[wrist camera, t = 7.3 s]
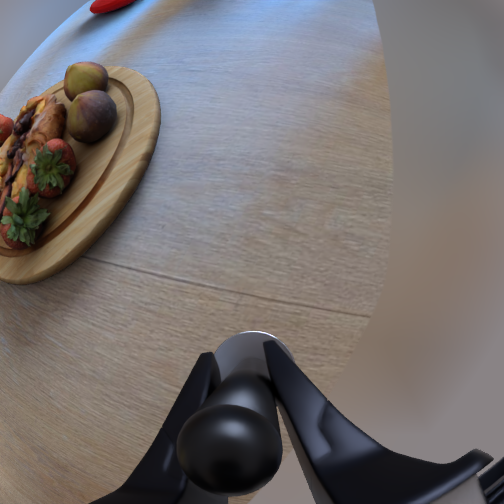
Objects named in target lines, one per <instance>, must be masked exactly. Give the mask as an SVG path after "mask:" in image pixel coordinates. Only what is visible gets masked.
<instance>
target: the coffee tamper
mask: <svg viewBox="0 0 504 504" xmlns="http://www.w3.org/2000/svg"><path fill="white" fill-rule="evenodd" d="M268 340H275V341H276V343H277V344H278V345H279V346H280V347H281V348H282V349H283V351H284V352H285V353H286V354H287V355H288V356H289V357H290V358H291V360H292V361H293V362H294V363H295V360H294V357H293V355H292V353H291V352H290V350H289V349H288V347H287V346H286V345H285V344H284V343H283V342H282V341H281V340H279V339H278V338H276V337H274V336H272V335H270V334H268V333H264V332H259V331H247V332H242V333H238V334H236V335H233V336H232V337H230V338H228V339H227V340H225V341H224V342H223V343H222V344H221V345H220V346H219V347H218V349H217V350H216V352H215V354H214V356H215V359H216V361H217V363H218V366H219V369H220V376H221V384H220V385H219V386H218V387H217V388H216V389H215V390H214V391H213V392H212V394H211V395H210V396H209V397H208V398H207V399H206V400H205V401H204V402H203V403H202V405H201V406H200V407H199V408H198V409H197V410H196V411H195V412H194V413H193V414H192V415H191V416H190V417H189V418H188V420H187V421H186V422H185V423H184V425H183V427H182V429H181V431H180V433H179V435H178V439H177V458H178V462H179V464H180V466H181V468H182V470H183V472H184V473H185V474H186V476H187V477H188V478H189V480H191V481H192V482H193V483H194V484H195V485H196V486H198V487H199V488H201V489H203V490H205V491H207V492H209V493H212V494H216V495H219V496H228V497H232V496H242V495H246V494H249V493H252V492H254V491H257V490H258V489H260V488H262V487H263V486H265V485H266V484H267V483H268V482H269V481H270V480H271V479H272V478H273V477H274V475H275V474H276V472H277V471H278V469H279V466H280V464H281V459H282V453H283V448H282V440H281V434H280V428H279V421H278V415H277V409H276V407H277V403H276V400H275V396H274V390H273V387H272V385H271V381H270V377H269V372H268V368H267V364H266V359H265V354H264V349H263V344H262V343H263V342H264V341H268Z"/></svg>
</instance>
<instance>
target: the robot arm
mask: <svg viewBox="0 0 504 504" xmlns="http://www.w3.org/2000/svg"><path fill="white" fill-rule="evenodd" d="M262 344H263V349H264V354H265V359H266V364H267V368H268V372H269V377H270V381H271V385H272V387H273V390H274V396H275V400H276V403H277V406H278V408H279V411H280V414H281V416H282V419H283V422H284V424H285V427H286V429H287V432H288V435H289V437H290V440H291V442H292V445H293V448H294V450H295V452H296V455H297V458H298V460H299V463H300V465H301V468H302V470H303V473H304V475H305V478H306V480H307V483H308V485H309V488H310V490H311V492H312V495H313V498H314V500H315V502H316V504H504V457H503V458H502V459H501V460H499V461H498V462H497V463H496V464H495V465H493V466H492V467H491V468H490V469H488V470H487V471H485V472H484V473H483V474H481V475H480V476H479V477H477V474H476V473H477V472H479V471H480V470H481V469H483V468H484V467H485V466H487V465H488V464H489V463H490V462H491V461H493V459H494V458H493V457H492V456H490V455H489V454H487V453H485V452H483V451H481V450H478V449H473V450H472V451H470V452H468V453H467V454H466V455H464V456H462V457H461V458H459V459H458V460H456V461H454V462H451V463H447V464H437V463H432V462H428V461H424V460H420V459H416V458H412V457H409V456H406V455H402V454H398V453H396V452H393V451H391V450H389V449H387V448H385V447H383V446H382V445H381V444H379V443H378V442H376V441H375V440H374V439H372V438H371V437H370V436H368V435H367V434H366V433H365V432H363V431H362V430H360V429H359V428H358V427H357V426H355V425H354V424H353V423H352V422H350V421H349V420H348V419H347V418H346V417H344V415H343V414H341V413H340V412H339V411H338V410H337V409H336V408H335V407H334V406H333V404H332V403H331V402H330V401H329V400H328V401H327V398H326V397H325V396H324V395H323V394H322V393H321V392H320V391H319V389H318V388H317V387H316V386H315V385H314V384H313V383H312V382H311V381H310V380H309V379H308V377H307V376H306V375H305V374H304V373H303V372H302V371H301V370H300V369H299V367H298V366H297V365H296V364H295V363H294V362H293V361H292V360H291V358H290V357H289V356H288V355H287V354H286V353H285V352H284V351H283V349H282V348H281V347H280V346H279V345H278V344H277V343H276V341H275V340H268V341H264V342H263V343H262ZM220 384H221V376H220V369H219V366H218V363H217V361H216V359H215V356H214V354H213V353H212V352H206V353H202V354H200V356H199V358H198V360H197V362H196V364H195V365H194V367H193V369H192V371H191V373H190V375H189V377H188V379H187V380H186V382H185V384H184V386H183V388H182V390H181V392H180V394H179V395H178V397H177V399H176V401H175V403H174V405H173V407H172V408H171V410H170V412H169V414H168V416H167V418H166V420H165V422H164V423H163V425H162V427H163V428H161V429H160V431H159V433H158V434H157V436H156V438H155V440H154V441H153V443H152V445H151V447H150V448H149V450H148V451H147V453H146V454H145V456H144V457H143V458H142V460H141V461H140V463H139V464H138V465H137V467H136V468H135V469H134V471H133V472H132V474H131V475H130V476H129V478H128V479H127V480H126V482H125V483H124V484H123V485H122V486H121V487H120V488H118V489H117V490H115V491H114V492H112V493H110V494H108V495H106V496H104V497H102V498H99V499H97V500H95V501H93V502H91V503H89V504H228V496H219V495H216V494H212V493H209V492H207V491H205V490H203V489H201V488H199V487H198V486H196V485H195V484H194V483H193V482H192V481H191V480H189V478H188V477H187V476H186V474H185V473H184V472H183V470H182V468H181V466H180V464H179V462H178V458H177V439H178V435H179V433H180V431H181V429H182V427H183V425H184V423H185V422H186V421H187V420H188V418H189V417H190V416H191V415H192V414H193V413H194V412H195V411H196V410H197V409H198V408H199V407H200V406H201V405H202V403H203V402H204V401H205V400H206V399H207V398H208V397H209V396H210V395H211V394H212V392H213V391H214V390H215V389H216V388H217V387H218V386H219V385H220Z"/></svg>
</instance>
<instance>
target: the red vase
mask: <svg viewBox="0 0 504 504" xmlns="http://www.w3.org/2000/svg"><path fill="white" fill-rule="evenodd" d="M134 1H136V0H96V1H95V2H93V3H92V5H91V7H90V11H91V12H92V13H94V14H96V13H106V12H110V11H113V10H116V9H119V8H121V7H124V6H126V5H128V4H130V3H132V2H134Z"/></svg>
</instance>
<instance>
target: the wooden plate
mask: <svg viewBox="0 0 504 504" xmlns="http://www.w3.org/2000/svg"><path fill="white" fill-rule="evenodd" d="M160 124H161V109H160V102H159V98H158V95H157V92H156V90H155V89H154V87H153V85H152V84H151V82H150V81H149V80H148V79H147V78H146V77H144V76H143V75H142V74H140V73H138V72H137V71H135V70H132V69H129V68H125V67H118V66H104V67H103V66H102V65H100V64H97V63H94V62H79V63H75V64H73V65H71V66H68V68H67V70H66V74H65V78H64V80H62V81H60V82H58V83H57V84H55V85H53V86H52V87H50V88H49V89H48V90H46V91H45V92H43V93H42V94H41V95H40V96H36V97H33V98H31V99H30V100H28V102H27V105H26V106H23V107H22V108H21V110H20V113H19V115H18V116H17V117H16V118H15V120H14V121H13V120H12V119H11V118H8V117H5V116H3V115H1V114H0V280H1V281H3V282H6V283H8V284H15V285H27V284H32V283H36V282H39V281H42V280H44V279H46V278H48V277H51V276H52V275H54V274H56V273H58V272H60V271H61V270H63V269H64V268H66V267H67V266H68V265H70V264H71V263H73V262H74V261H75V260H76V259H78V258H79V257H80V256H81V255H83V254H84V253H85V252H86V251H87V250H88V249H89V248H90V247H91V246H92V245H93V244H94V243H95V242H96V241H97V240H98V239H99V237H100V236H101V235H102V234H103V233H104V232H105V231H106V229H107V228H108V227H109V226H110V225H111V224H112V223H113V221H114V220H115V219H116V217H117V216H118V215H119V214H120V212H121V211H122V209H123V208H124V207H125V205H126V204H127V202H128V201H129V199H130V198H131V196H132V195H133V193H134V192H135V190H136V188H137V186H138V184H139V183H140V181H141V179H142V177H143V175H144V173H145V171H146V169H147V167H148V165H149V162H150V160H151V157H152V155H153V152H154V149H155V145H156V142H157V138H158V135H159V129H160Z"/></svg>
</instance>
